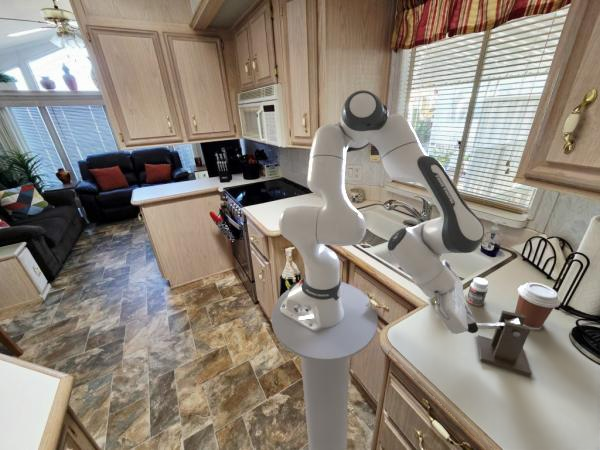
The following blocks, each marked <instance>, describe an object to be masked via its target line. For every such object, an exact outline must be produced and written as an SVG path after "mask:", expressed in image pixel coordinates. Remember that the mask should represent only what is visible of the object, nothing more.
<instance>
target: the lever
mask: <svg viewBox="0 0 600 450" xmlns="http://www.w3.org/2000/svg"><path fill="white" fill-rule="evenodd" d="M506 322H510V323H514V324H518V325H521V324H520V321H519V318H507V319H505V322H502V323H498V322H482V323H481V322H478V323H477V322H476V321H474V323H471V324H468V331H467V333H469V334H475V333H477V332H478V331H479V330H496V329H503V328H504V325H505V323H506Z"/></svg>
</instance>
